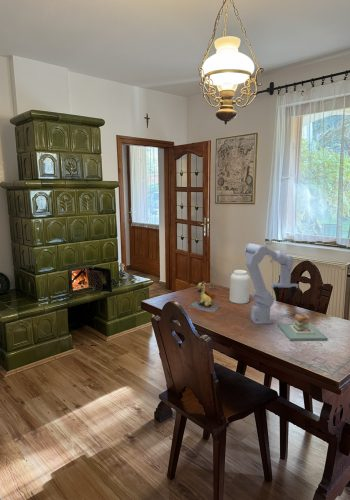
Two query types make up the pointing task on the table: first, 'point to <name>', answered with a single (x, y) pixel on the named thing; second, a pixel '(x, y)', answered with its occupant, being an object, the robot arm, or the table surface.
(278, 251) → the robot arm
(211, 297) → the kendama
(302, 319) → the block stack
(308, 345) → the table surface
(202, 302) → the yellow giraffe figurine
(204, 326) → the table surface
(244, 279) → the white jar
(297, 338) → the plate
